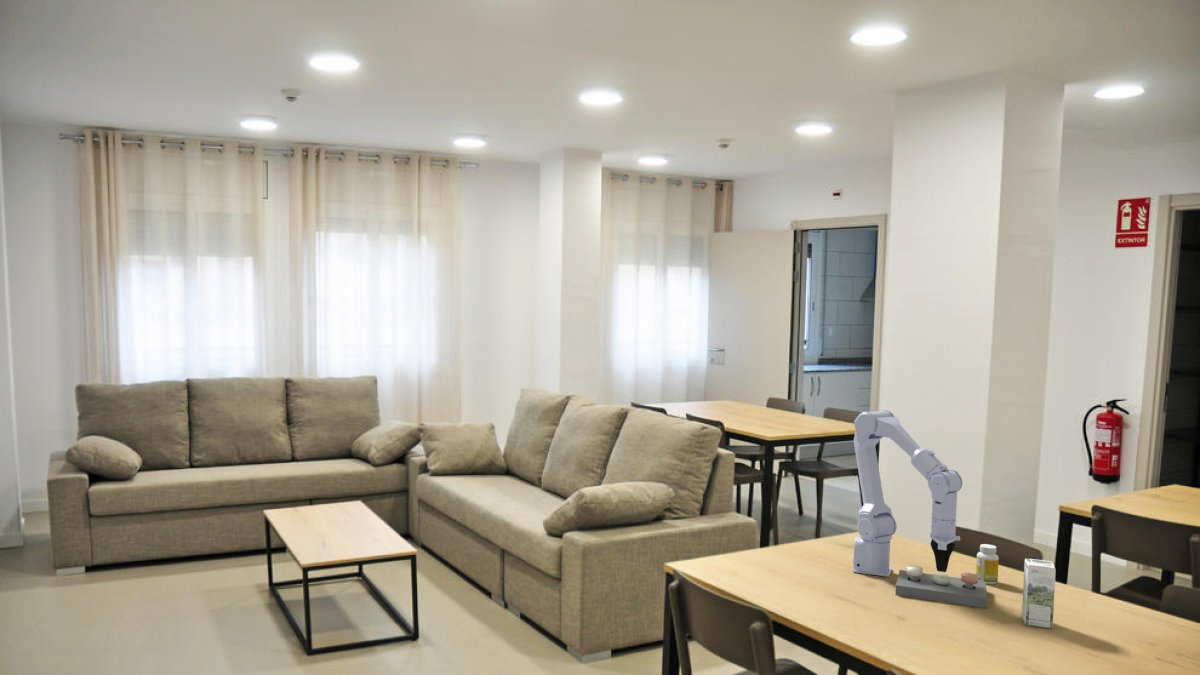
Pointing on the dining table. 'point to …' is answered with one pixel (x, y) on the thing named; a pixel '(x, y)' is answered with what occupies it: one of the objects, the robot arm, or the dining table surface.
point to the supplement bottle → (987, 564)
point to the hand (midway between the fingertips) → (941, 570)
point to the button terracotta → (969, 579)
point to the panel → (942, 590)
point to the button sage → (941, 579)
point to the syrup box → (1038, 593)
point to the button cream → (914, 572)
